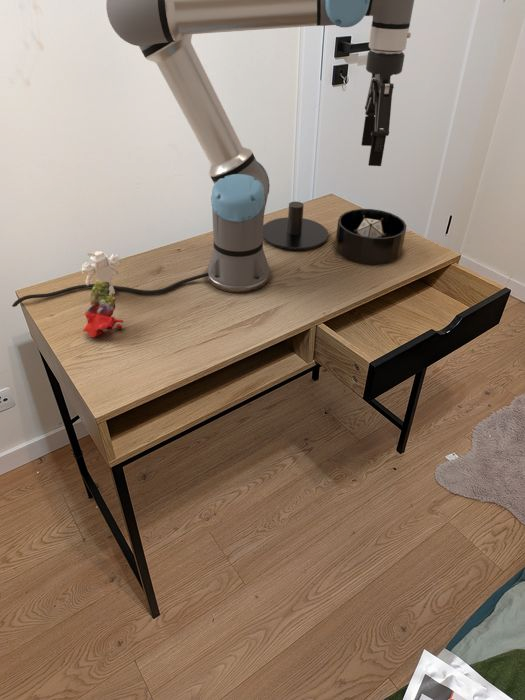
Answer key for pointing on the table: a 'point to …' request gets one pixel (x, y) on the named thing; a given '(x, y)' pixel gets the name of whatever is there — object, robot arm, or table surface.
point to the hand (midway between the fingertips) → (370, 155)
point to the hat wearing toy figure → (102, 268)
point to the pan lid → (294, 230)
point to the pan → (369, 247)
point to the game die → (370, 228)
